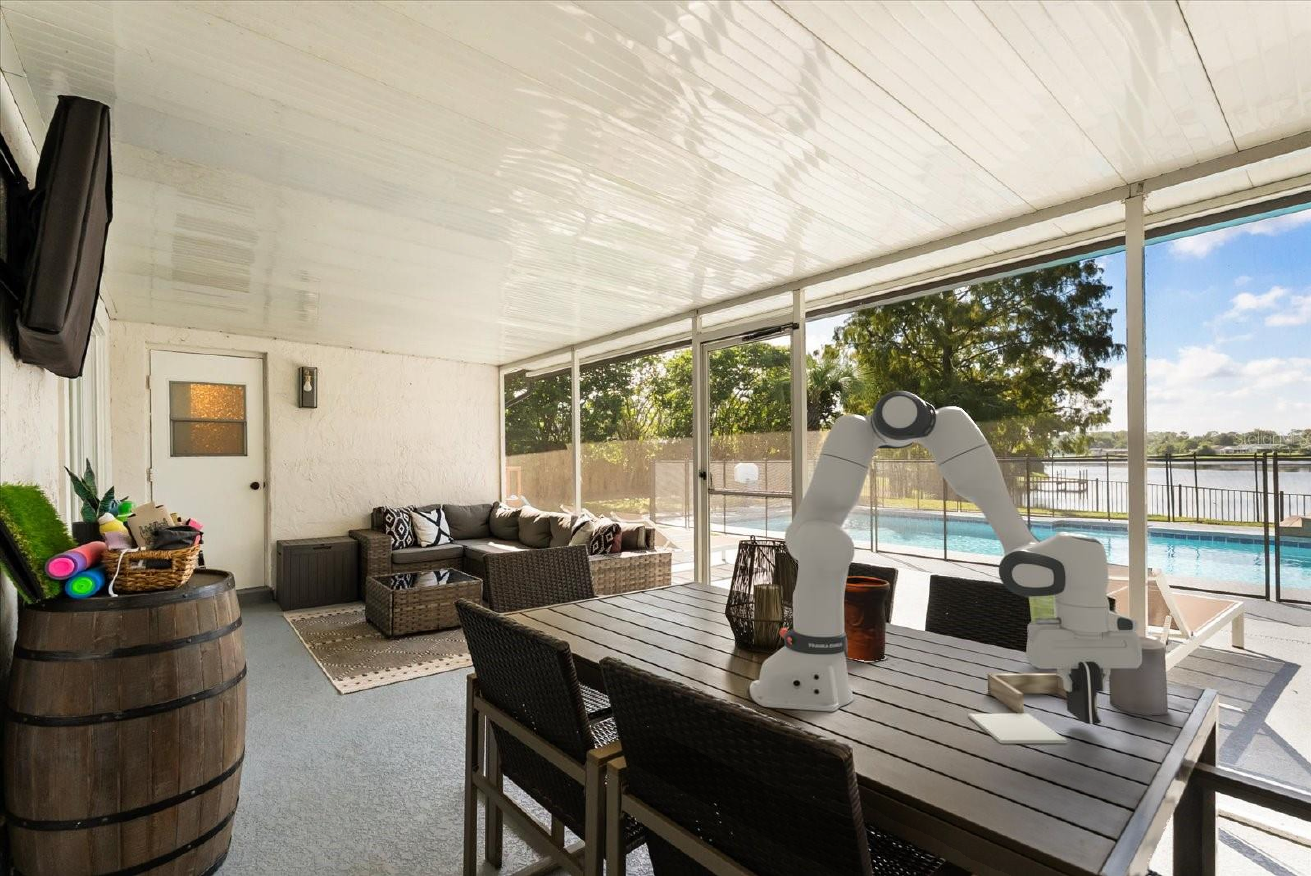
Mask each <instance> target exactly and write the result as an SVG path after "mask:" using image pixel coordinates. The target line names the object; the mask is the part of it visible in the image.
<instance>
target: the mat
mask: <svg viewBox="0 0 1311 876" xmlns="http://www.w3.org/2000/svg"><path fill="white" fill-rule="evenodd" d="M967 716H968V718H969V719H970V720H972V721H973V722H974V723H975V724H977V725H978V726H979V727H981V729H983V730H984V731H985V732H987V734H989V736H991V737H993V739H995V740H996V741H997V742H999V743H1000V744H1067V741H1068V740H1067V739H1066V738H1065V737H1064V736H1062V735H1060V734H1059V733H1057V732H1056V731H1054V730H1053V729H1052V728H1050V727H1049V726H1047V725H1045V723H1043V722H1041V721H1039V719H1036V718H1035V717H1034V716H1032V715H1031V714H1030V713H968V715H967Z"/></svg>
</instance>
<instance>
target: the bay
mask: <svg viewBox="0 0 1311 876" xmlns="http://www.w3.org/2000/svg"><path fill="white" fill-rule="evenodd" d="M987 693H988V694H990V695H992V696H993V697H994V698H996V699H997V700H998V701H1000V702H1001V703H1003V704H1004V705H1005V706H1007V707H1009V708H1010V709H1012V710H1013V711H1014V712H1016V714H1018V713H1024V710H1025V709H1024V694H1059V695H1061V697H1064V698H1066V690H1065V689H1064V683H1063V679H1062V678H1061V676H1060V675H1059V673H1058V672H1057V673H1051V672H1050V673H987ZM1097 697H1098V694H1097V695H1096V696H1095V698H1094V699H1095V712H1096V714H1098V699H1097Z"/></svg>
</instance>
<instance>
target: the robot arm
mask: <svg viewBox="0 0 1311 876" xmlns="http://www.w3.org/2000/svg"><path fill="white" fill-rule="evenodd" d="M826 436H827V437H826V438H825V440H824V443H823V445H822V447H821V451H820V452H819V455H818V460H817V461H816V462H817V463H816V466H815V468H814V471H813V474H812V477H811V480H810V483H809V486H808V487H807V491H806V493H805V495H804V497H803V498H802V500H801V502H800V504H799V506H798V508H797V510H796V512H795V514H794V516H793V519H792V520H791V523H790V524H789V525H788V526H787V528H786V530H785V534H784V540H785V541H784V542H785V545H786V548H787V550H788V551H787V552H789V554H790V555H791V557H792V558H794V559H795V560H796V561H797V563H798V569H797V577H796V583H795V589H794V591H793V593H792V614H793V615H792V619H793V624H792V625H793V627H792V628H791V629H789V630H788V629H787V628H785V627H781V628H780V630H779V635H780V636H781V638H782V639H784V646H783V647H781V648H780V649H779V650H777V651H776V652H775V653H773V654H772V655H771V656H768V658H766V659H765V660H764V661H763V663H762V665H761V668H760V672H759V673H760V674H759V679H757V680H753V681H752V682H751V683H750V685H749V695H750V697H751V698H752V700H753V701H754V702H756V704H758V705H760V706H762V707H764V708H765V707H766V708H776V709H789V710H790V709H793V710H805V711H806V710H807V711H819V712H836V711H837V710H838V709H839V708H841V707H842V706H846V705H848V704H850V703H851V702H852V701H854V698H855V697H854V694H853V690H852V687H851V683H850V678H849V677H850V676H849V673H848V665H847V659H846V658H847V636H846V632H844V593H845V586H846V581H847V577H848V575H849V569H850V567H849V566H851V563H852V561H853V559H854V557H855V550H856V549H855V544H854V542H853V540H852V538H851V536H850V534H849V533H848V532H847V530H845V529H844V528H843V525H844V524H845V522H846V520H847V518H848V516H849V515H850V513H851V511H852V510H853V509H854V508H855V506H857V504H858V502H859V500H860V497H861V493H862V491H863V487H864V484H865V481H866V479H867V475H868V472H869V469H870V466H871V462H872V459H873V457H874V454H875V452H876V451H877V449H878V450H879V449H880V450H881V449H889V450H890V449H892V450H893V449H895V450H896V449H897V450H898V449H903V448H904V449H905V448H907V447H909V446H912V445H913V444H914V443H916V444H920V445H921V446H923V447H924V448H925V449H926V450H927V451H928V453H929V454H930V455H931V457H932V459H933V461H934V462H935V465H936V467H937V469H938V471H939V472H940V474H941V476H942V477H943V479H944V480H945V482H946V483H947V484H948V486H949V487H951V490H953V492H954V493H956V494H957V495H959V496H960V497H962V498H963V499H965V500H967V501H968V502H970V503H972V504H973V505H974V506H975V507H977V509H978V510H980V512H981V513H982V514H983V516H984V517H985V519H986V521H987V522H988V523H989V525H990V527H991V529H992V531H993V532H994V534H995V536H996V538H997V539H998V541H999V542H1000V544H1001V546H1002V548H1003V553H1004V556H1003V558H1002V559H1001V560H1000V563H999V566H998V575H999V576H998V577H999V578H1000V580H1001V583H1002V585H1004V587H1005V588H1006V589H1007V590H1009V591H1010V592H1011V593H1013V594H1015V595H1016V596H1017V595H1018V596H1020V597H1027V598H1029V597H1036V596H1050V595H1053V596H1054V612H1055V618H1046V619H1043V618H1036V619H1034V621H1032V622H1031V621H1030V622H1029V623H1028V624H1027V628H1026V629H1027V631H1026V632H1027V640H1026V641H1027V642H1026V650H1025V651H1026V652H1025V657H1026V660H1027V662H1028V663H1029V664H1030V665H1031V666H1034V667H1035V668H1038V669H1041V670H1043V669H1046V670H1051V669H1052V670H1054V669H1055V670H1056V672H1057V673H1059V675H1060V676H1061V678H1062V679H1063V683H1064V689H1065V690H1066V691H1068V692H1076V691H1077V688H1076V687H1077V683H1076V682H1074V681H1072V680H1071V679H1070V677H1069V675H1068V674H1071V669H1078V666H1079V665H1078V664H1079V662H1082V661H1084V662H1095V663H1096V664H1098V666H1099V667H1100V669H1101V674H1102V682H1103V691H1097V693H1099V692H1100V693H1101V692H1103V693H1104V692H1105V690H1106V689H1105V688H1106V684H1105V683H1106V682H1107V680H1109V676H1110V674H1111V673H1110V668H1138V667H1139V666H1140V665H1141V663H1142V648H1141V641H1140V638H1139V637H1140V636H1139V634H1138V633H1137V632H1136V631H1138V630H1139V623H1138V621H1137V620H1136V619H1134V618H1132V617H1129V616H1126V615H1124V614H1120V613H1118V612H1117V611H1114V610H1110V601H1109V599H1108V596H1107V590H1108V585H1109V565H1108V558H1107V554H1106V550H1105V548H1104V545H1103V544H1102V542H1100V541H1099V540H1097V539H1096V538H1095V537H1093V536H1089V535H1087V534H1086V535H1085V534H1081V533H1076V532H1069V531H1060V532H1059V531H1058V532H1057V533H1056V534H1054V535H1053V536H1050V537H1048V538H1046V539H1044V540H1042V541H1041V540H1039V538H1037V537H1036V536H1035V535H1034V534H1033V532H1032V531H1031V529H1030V528H1029V526H1028V525H1027V523H1026V522H1025V520H1024V518H1023V517H1022V515H1021V513H1020V512H1019V510H1018V508H1017V507H1016V504H1015V503H1014V502H1013V499H1012V498H1011V496H1010V494H1009V490H1008V488H1007V484H1006V482H1005V478H1004V476H1003V472H1002V469H1001V467H1000V464H999V462H998V459H997V458H996V455H995V453H994V451H993V449H992V447H991V446H990V444H989V441H988V440H987V439H986V437H985V436H984V434H983V433H982V431H981V430H980V428H979V427H978V426H977V424H976V423H975V422H974V421H973V419H972V418H971V417H970V416H969V415H968V413H967V412H965V410H963V409H962V408H960V407H957V406H943V407H940V408H938V409H936V408H935V406H933V405H932V404H930V403H928V402H927V401H925V400H923V399H922V398H920V397H918V396H917V395H916V394H913V393H911V392H910V391H909V392H908V391H904V390H894V391H891V392H887V393H886V394H884V395H883V396H881V398H879V399H878V400H877V402H876V403H875V405H874V407H873V410H872V412H871V413H869V414H867V415H859V414H856V413H855V414H854V413H849V414H847V413H846V414H844V415H843V414H842V415H841V416H839V417H838V418H837V419H836V420H835V421H834V423H833V425H832V427H831V428H830V429H829V432H828V435H826ZM1033 623H1036V624H1033Z"/></svg>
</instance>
